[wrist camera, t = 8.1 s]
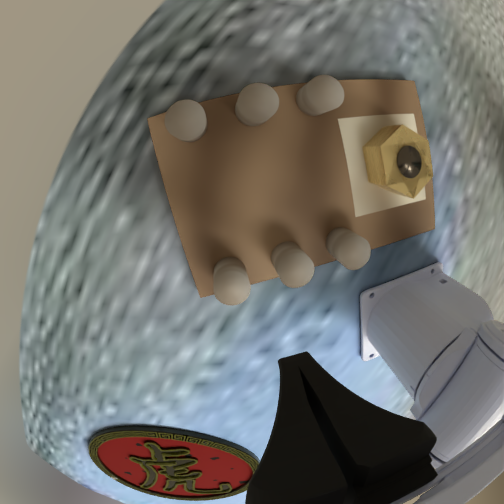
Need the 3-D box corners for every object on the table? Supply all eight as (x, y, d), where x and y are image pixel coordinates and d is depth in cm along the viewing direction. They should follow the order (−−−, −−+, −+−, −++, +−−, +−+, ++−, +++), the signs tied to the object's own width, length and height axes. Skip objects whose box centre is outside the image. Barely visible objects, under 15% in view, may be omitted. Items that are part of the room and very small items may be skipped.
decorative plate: (123, 493, 30) (57, 417, 22) (124, 488, 31) (60, 410, 23) (261, 497, 33) (264, 428, 25) (260, 492, 34) (262, 420, 26)
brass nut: (358, 129, 17) (377, 126, 14) (405, 124, 17) (425, 122, 14) (370, 199, 18) (390, 205, 16) (415, 188, 18) (435, 193, 16)
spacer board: (408, 82, 16) (434, 75, 13) (429, 226, 21) (454, 237, 17) (150, 120, 16) (135, 111, 12) (201, 292, 20) (198, 317, 17)
